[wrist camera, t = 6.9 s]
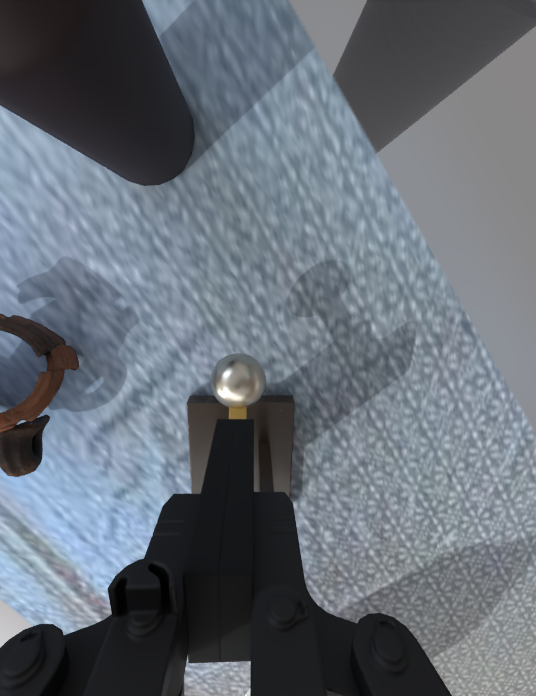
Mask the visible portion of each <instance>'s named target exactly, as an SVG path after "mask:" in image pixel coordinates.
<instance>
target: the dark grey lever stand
mask: <svg viewBox="0 0 536 696" xmlns="http://www.w3.org/2000/svg"><path fill="white" fill-rule="evenodd" d="M187 416H188V435H189V453H190V472H191V490H192V494H201V489H202V485H203V480H204V476H205V471H206V467H207V462H208V458H209V453H210V449H211V444H212V440H213V435H214V431H215V426H216V422H217V419H229V407H226V406H224V405H223V404H221V403H220V402H219V401H218V400H217V399H216V397H215V396H190V397H189V399H188V401H187ZM247 419H254V492H285V493H286V494H287V496H288V497H289V499H290V482H291V462H292V442H293V422H294V400H293V396H261V398H260V399H259V400H258V401H257V402H256V403H255V404H253V405H252V406H250V407H247Z"/></svg>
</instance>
